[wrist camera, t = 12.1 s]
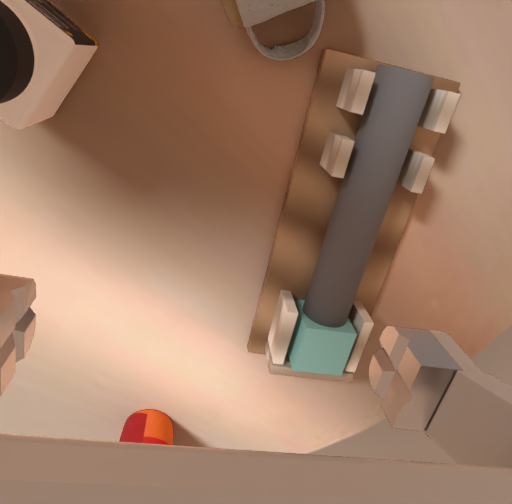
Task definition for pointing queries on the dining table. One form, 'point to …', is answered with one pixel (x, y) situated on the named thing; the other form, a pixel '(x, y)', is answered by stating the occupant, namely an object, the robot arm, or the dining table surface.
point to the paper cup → (148, 428)
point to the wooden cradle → (323, 200)
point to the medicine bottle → (38, 60)
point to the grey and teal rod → (357, 220)
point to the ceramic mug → (264, 8)
